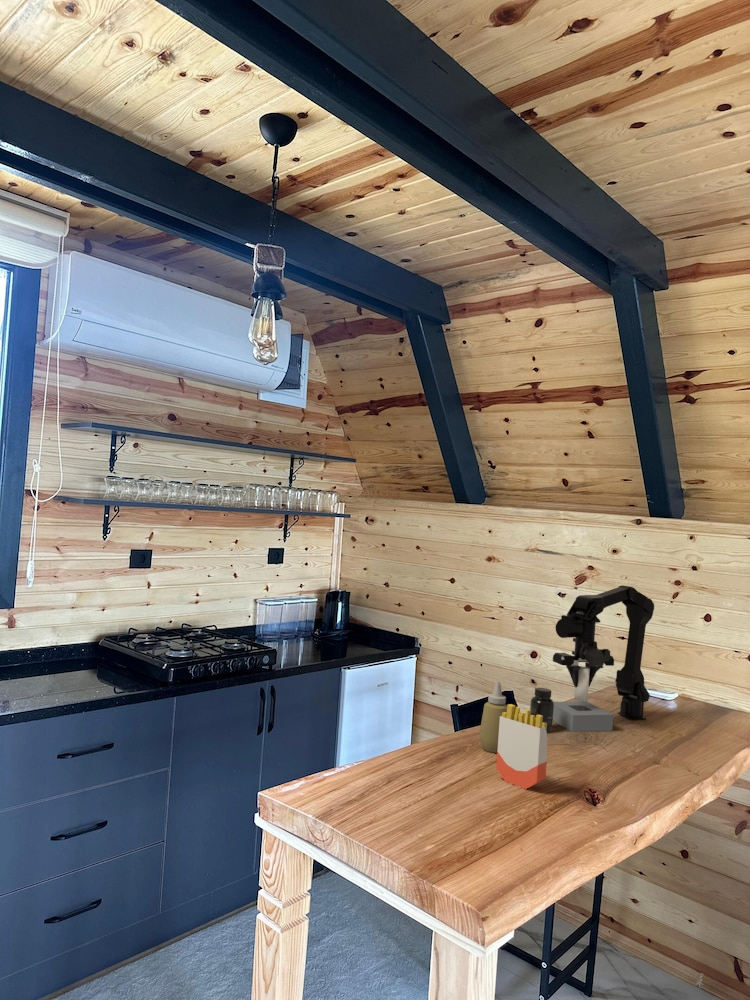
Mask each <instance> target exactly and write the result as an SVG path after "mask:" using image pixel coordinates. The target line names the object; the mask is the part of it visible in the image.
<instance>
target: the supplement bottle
mask: <svg viewBox="0 0 750 1000" xmlns="http://www.w3.org/2000/svg"><path fill="white" fill-rule="evenodd" d="M551 698H552V690H551V689H549V688H546V687H535V688H534V696H533V697H531V699H530V703H529V704H530V705H529V706H530V707H529V710H531V713H530V716H531V715H533V716H535V718H536V715H542V716H543V720H542V722H543V723H547V728H546V731H547V734H548V733H551V732H552V730H553V722H554V721H553V710H554V702H555V701H553V699H551Z"/></svg>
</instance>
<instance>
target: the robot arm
mask: <svg viewBox="0 0 750 1000" xmlns="http://www.w3.org/2000/svg"><path fill="white" fill-rule="evenodd" d="M619 603H621V604H623V605H624V607H625V614H626V616H627V618H628V621H629V627H628V633H627V642H626V648H625V649H626V650H625V657H624V665H623V666H622V668H620V669H617V670H616V677H615V679H614V682H615V686H616V690H617V694H618V696H621V701H620V711H619V712H617V714H618V715H619V714H620V716H622V717H624V718H626V719H628V720H630V719H635V720H647V717H646V716H644V706H645V705H644V704H645V703H646V702H648V701H649V700H650V697H651V694H650V693H649V691H648V690H647V688H646V686H645V676H644V674H643V671H642V670H641V665H642V659H643V651H644V643H645V635H646V627H647V624H648V623H649V622H650V621H651V619H652V618H653V614H654V610H655V603H654V602H653V600H652V598H649V597H648V596H646V595H645V594H642V593H641V592H640V591H638V590H637V589H636V588H635V587H633V586H629V585H623V584H622V585H619V586H618V587H615V588H612V589H610V590H607V591H606V590H605V591H603V592H600V593H597V594H584V595H583V594H582V595H578V596H576V597H575V600H574V602H573V603H572V605H571V607H570V608H569V610H568V612H567V614H562V615H561V616H560V619H558V620H557V622H556V624H555V628H554V629H555V632H556V634H557V636H558V637H560V638H562V639H568V638H569V639H570V638H572V642H574V650H571V651H572V652H571V654H569V653H566V652H555V653H554V654H553V656H552V662H553V663H556V664H557V665H558V664H559V665H561V666H565V667H566V669H567V671H568V673H569V676H570V678H571V682H572V684H573V686H574V688H575V687H577V686H578V674H579V670H580V668H581V666H582V665H579V663H584V665H585V666H584V667H588V668H590V674H589V687H590V686H591V684H592V682H593V680H594V678H595V675H597V672H598V671H599V670H602V669H604V668H605V667H604V666H610V667H611V666H612V667H613V666H615V659H614V657H613V656H612V655H611V650H609V648H601V649H600V648H598V643H597V642H598V641H595V639H596V638H595V636H596V624H597V623H598V624H599V623H601V620H600V619H599V617H598V615H599V614H601V613H603V612H604V609H605V608H607V607H610V606H613V605H616V604H619Z"/></svg>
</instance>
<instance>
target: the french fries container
mask: <svg viewBox="0 0 750 1000" xmlns="http://www.w3.org/2000/svg"><path fill="white" fill-rule="evenodd" d="M506 705H507V713H506V712H503V713H502V715H501V716H500V721H499V736H498V750H497V753H496V765H495V767H496V770H497V771H498V773H499V774H500V776H501V777H502V780H503V781H504V782H505V781H506V782H505V783H507V782H508V783H507V784H509V783H512V784H514V785H513V786H515V785H517V786H520V787H522V788H521V789H523V788H525V789H526V790H527V788H528V789H529V788H532V787H534V786H536V785H537V784H539V783H541V782H542V781H543V780H546V777H547V766H548V765H547V764H548V758H547V757H548V754H547V753H548V751H547V750H548V748H547V747H548V746H547V742H548V739H547V737H548V733H547V731H546V728H547V723H543V722H542V720H543V716H542V715H536V718H535V716H533V715H531V716H530V713H531V710H530V708H529V709H527V708H526V709H525V713H524V712H523V711H521V707H520V706H516V705H515V704H512V703H510V704H509V703H508V704H506ZM512 784H511V785H512ZM517 786H516V787H517ZM520 787H519V788H520ZM525 789H524V790H525Z"/></svg>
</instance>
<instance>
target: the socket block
mask: <svg viewBox="0 0 750 1000" xmlns="http://www.w3.org/2000/svg"><path fill="white" fill-rule="evenodd" d="M553 702H554V710H553V722H554V723H556V724H557V725H560V726H561V727H563V728H564V729H567V730H568V731H569V732H570V733H585V732H586V733H589V732H591V733H592V732H593V733H594V732H613V727H614V725H613V724H614V714H613V713H611V712H608V711H607V710H604V709H602V708H601V707H598V706H597V705H594V704H593V703H591V702H588V701H586V702H583V701H553Z"/></svg>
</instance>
